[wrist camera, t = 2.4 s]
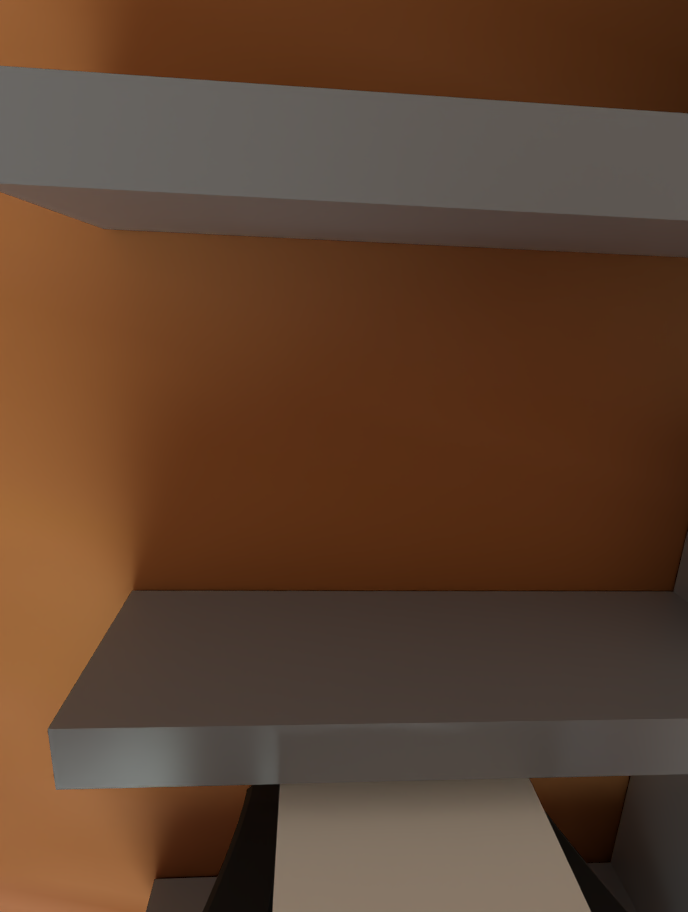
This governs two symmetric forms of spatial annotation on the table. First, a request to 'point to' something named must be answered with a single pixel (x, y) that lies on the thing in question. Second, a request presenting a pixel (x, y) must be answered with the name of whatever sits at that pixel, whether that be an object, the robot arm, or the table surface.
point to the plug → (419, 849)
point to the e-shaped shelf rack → (373, 612)
